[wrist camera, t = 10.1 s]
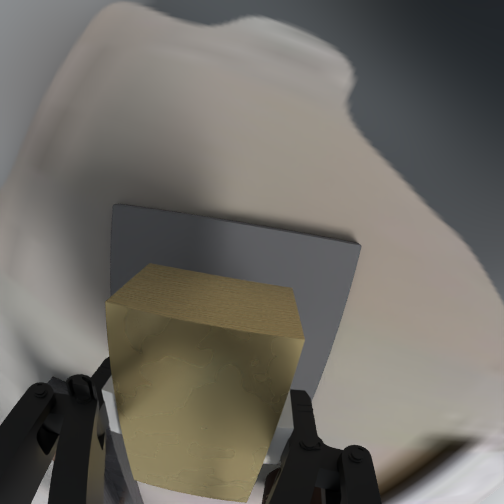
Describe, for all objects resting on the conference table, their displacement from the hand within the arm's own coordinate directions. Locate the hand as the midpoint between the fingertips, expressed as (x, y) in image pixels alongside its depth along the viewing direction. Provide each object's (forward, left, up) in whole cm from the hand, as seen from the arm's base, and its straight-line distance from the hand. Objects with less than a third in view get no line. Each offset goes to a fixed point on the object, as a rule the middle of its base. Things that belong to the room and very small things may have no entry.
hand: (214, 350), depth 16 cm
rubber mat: (0, 0, -2) cm, 2 cm away
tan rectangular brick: (0, 0, +3) cm, 3 cm away
